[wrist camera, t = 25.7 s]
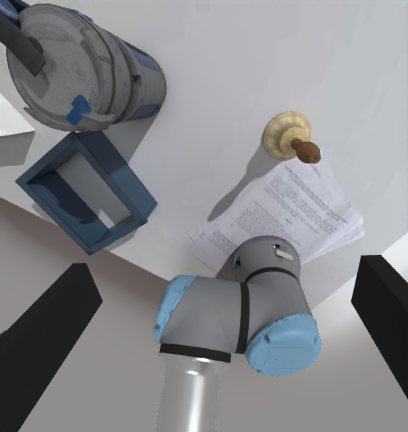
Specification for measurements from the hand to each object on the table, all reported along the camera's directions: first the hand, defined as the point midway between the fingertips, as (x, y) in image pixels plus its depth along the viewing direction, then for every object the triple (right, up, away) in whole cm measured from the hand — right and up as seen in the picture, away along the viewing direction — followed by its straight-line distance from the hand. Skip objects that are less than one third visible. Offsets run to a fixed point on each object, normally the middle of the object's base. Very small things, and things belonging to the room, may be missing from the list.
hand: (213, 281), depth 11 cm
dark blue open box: (-22, +10, +38) cm, 45 cm away
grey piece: (-12, +27, +29) cm, 41 cm away
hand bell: (+15, +18, +30) cm, 38 cm away
